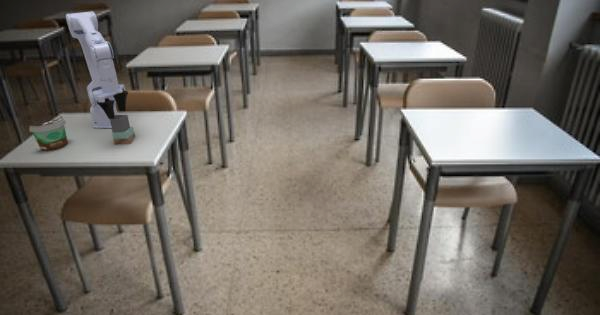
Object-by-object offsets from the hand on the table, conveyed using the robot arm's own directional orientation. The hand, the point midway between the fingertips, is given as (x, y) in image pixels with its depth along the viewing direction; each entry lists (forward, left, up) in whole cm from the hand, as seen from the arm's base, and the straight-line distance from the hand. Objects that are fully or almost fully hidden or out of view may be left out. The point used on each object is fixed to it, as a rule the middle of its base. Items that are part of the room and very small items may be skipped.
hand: (117, 114), depth 152 cm
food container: (-22, -7, -11) cm, 26 cm away
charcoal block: (0, 0, -6) cm, 6 cm away
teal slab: (+1, 0, -8) cm, 8 cm away
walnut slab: (+1, 0, -11) cm, 11 cm away
